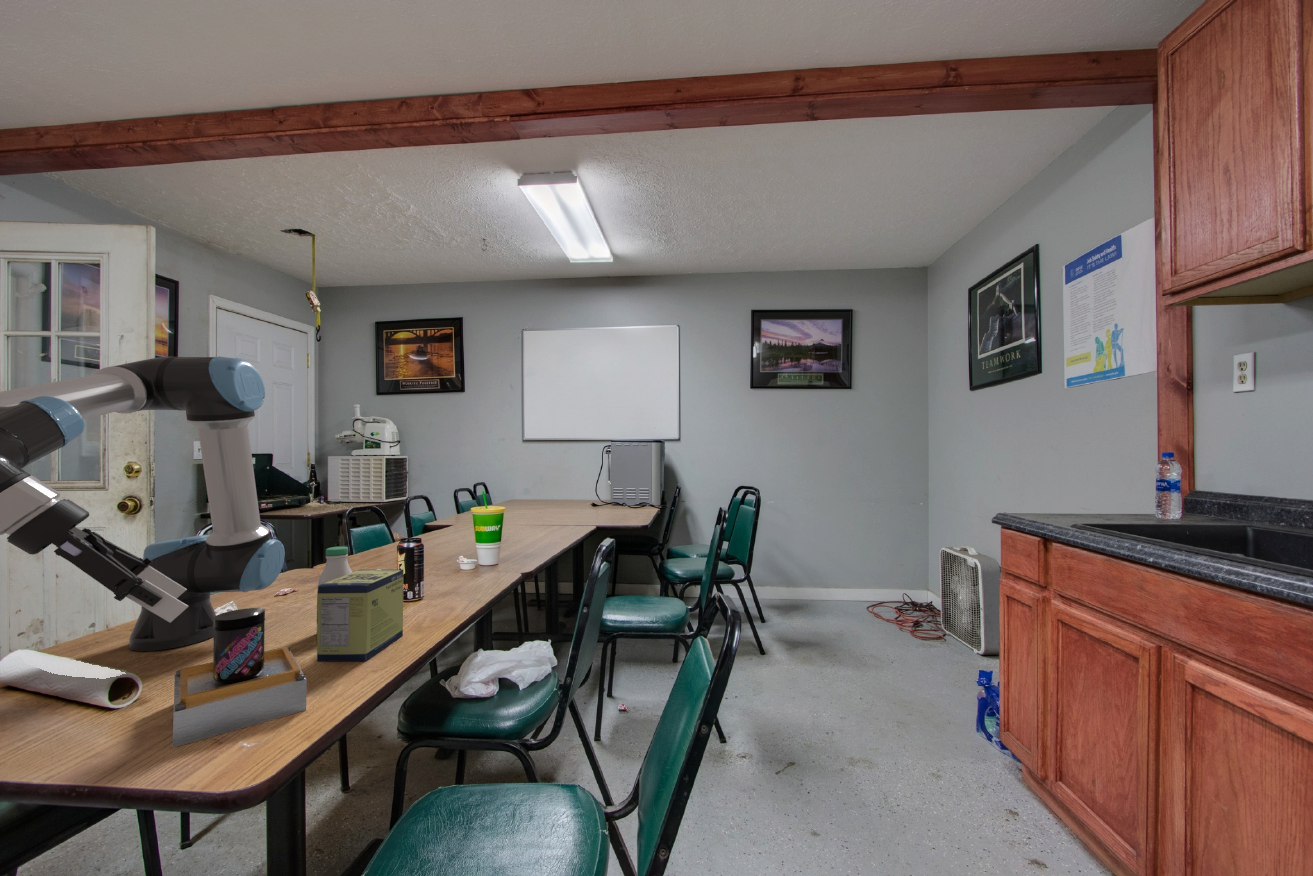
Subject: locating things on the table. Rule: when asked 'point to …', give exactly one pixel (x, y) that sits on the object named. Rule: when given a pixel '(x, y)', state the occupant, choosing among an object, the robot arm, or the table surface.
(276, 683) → the wood-rimmed grey tray
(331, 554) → the milk bottle
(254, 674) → the supplement container
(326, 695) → the table surface
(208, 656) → the table surface
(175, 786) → the table surface
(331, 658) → the protein box
